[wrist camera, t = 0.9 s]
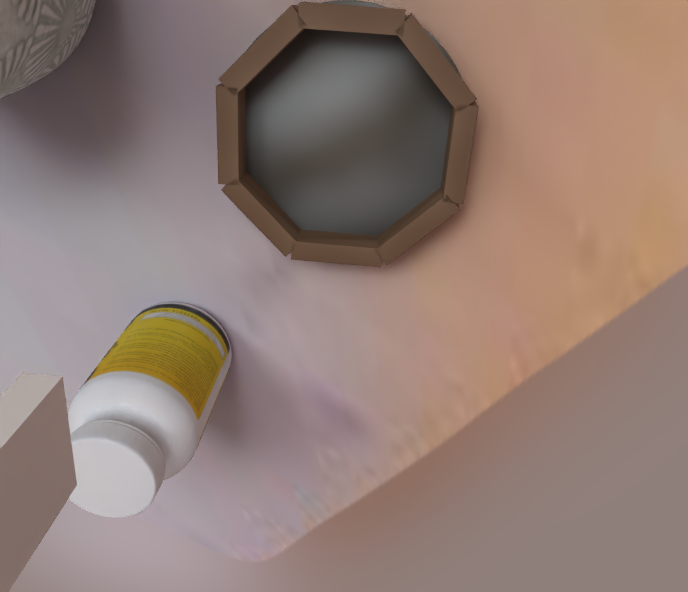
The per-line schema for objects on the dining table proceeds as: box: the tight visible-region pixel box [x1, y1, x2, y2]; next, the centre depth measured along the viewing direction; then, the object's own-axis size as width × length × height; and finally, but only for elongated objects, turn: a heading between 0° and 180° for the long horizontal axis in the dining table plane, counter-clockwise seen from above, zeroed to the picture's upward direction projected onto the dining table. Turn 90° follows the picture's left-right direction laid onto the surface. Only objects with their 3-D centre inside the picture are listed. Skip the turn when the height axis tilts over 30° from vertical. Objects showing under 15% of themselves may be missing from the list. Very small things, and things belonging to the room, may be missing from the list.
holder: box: [216, 0, 478, 267], centre depth 31 cm, size 12×12×3 cm
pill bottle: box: [68, 302, 232, 518], centre depth 33 cm, size 6×6×12 cm
